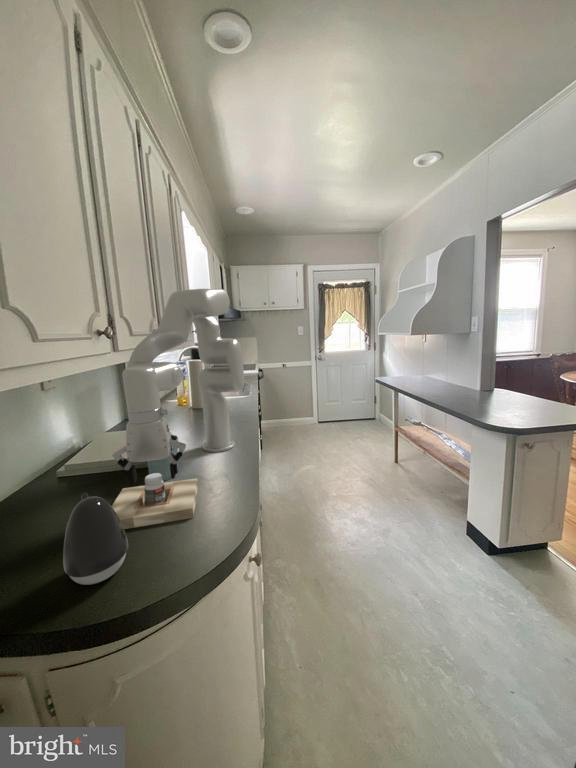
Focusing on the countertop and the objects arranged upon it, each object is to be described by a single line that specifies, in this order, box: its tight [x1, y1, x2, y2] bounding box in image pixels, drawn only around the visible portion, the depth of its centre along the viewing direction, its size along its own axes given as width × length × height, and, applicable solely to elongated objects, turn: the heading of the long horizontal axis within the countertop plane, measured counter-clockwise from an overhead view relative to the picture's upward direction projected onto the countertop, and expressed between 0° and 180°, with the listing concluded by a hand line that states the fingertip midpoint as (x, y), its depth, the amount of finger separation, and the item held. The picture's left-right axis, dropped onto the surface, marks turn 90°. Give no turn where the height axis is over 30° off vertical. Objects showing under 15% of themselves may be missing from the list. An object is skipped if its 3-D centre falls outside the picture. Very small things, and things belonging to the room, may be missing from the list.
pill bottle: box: [143, 473, 167, 505], centre depth 78 cm, size 5×5×8 cm
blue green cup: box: [146, 434, 179, 482], centre depth 96 cm, size 10×10×12 cm
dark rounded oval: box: [62, 492, 129, 586], centre depth 56 cm, size 10×10×15 cm
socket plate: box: [111, 477, 199, 530], centre depth 78 cm, size 16×20×3 cm
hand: (154, 479), depth 78 cm, fingers open, 9 cm apart
